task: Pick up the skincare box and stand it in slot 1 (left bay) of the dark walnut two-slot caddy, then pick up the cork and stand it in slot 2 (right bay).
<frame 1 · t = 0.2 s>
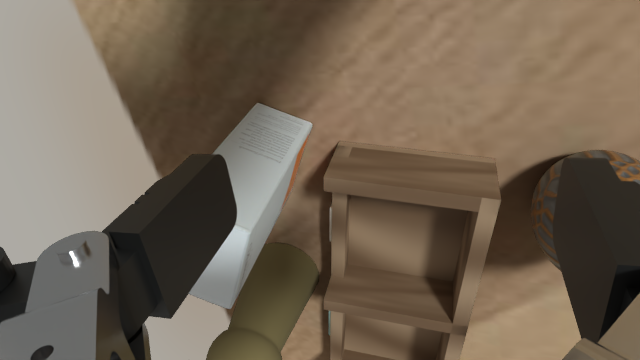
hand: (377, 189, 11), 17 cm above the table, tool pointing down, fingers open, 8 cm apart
skincare box: (277, 145, 32), on the table
vase: (584, 180, 28), on the table
slot rack: (399, 272, 36), on the table
cork: (285, 268, 39), on the table
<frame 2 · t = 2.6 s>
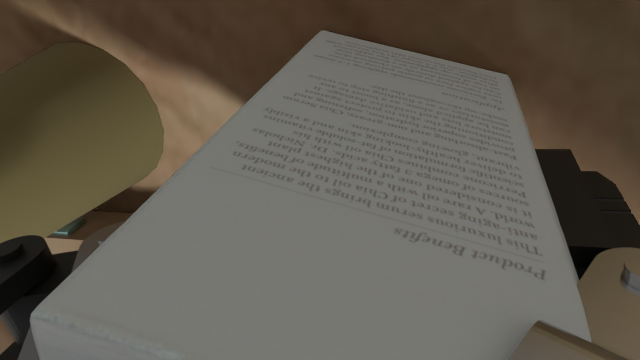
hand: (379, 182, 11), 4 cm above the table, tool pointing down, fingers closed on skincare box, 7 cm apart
skincare box: (399, 110, 15), on the table, touching gripper
slot rack: (197, 300, 22), on the table
cork: (98, 116, 18), on the table
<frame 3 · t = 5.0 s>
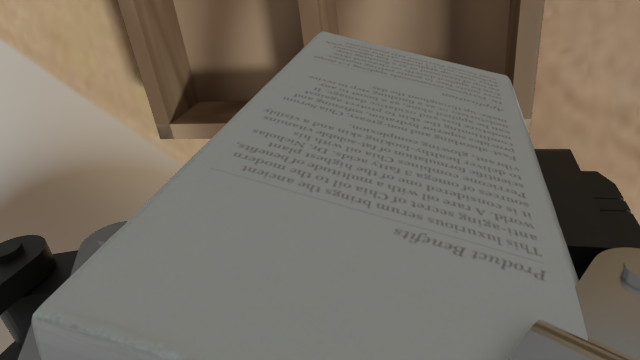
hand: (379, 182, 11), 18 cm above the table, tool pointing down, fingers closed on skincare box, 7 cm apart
skincare box: (398, 111, 15), point 14 cm above the table, touching gripper
slot rack: (332, 32, 28), on the table
when the fingers open (6 cm above the table, at t = 7.6 s): skincare box drops 2 cm, resting on slot rack.
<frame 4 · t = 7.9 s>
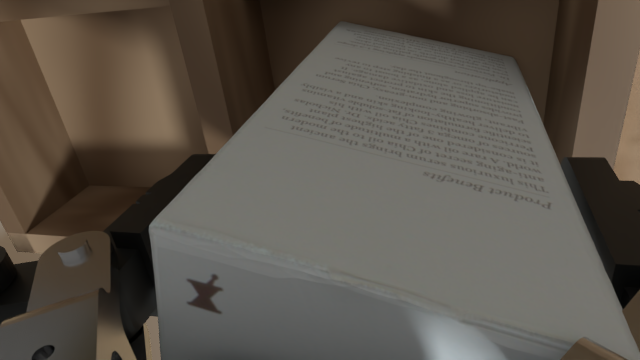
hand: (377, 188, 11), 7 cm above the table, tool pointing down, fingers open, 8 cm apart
skincare box: (413, 94, 16), resting on slot rack
slot rack: (270, 97, 18), on the table
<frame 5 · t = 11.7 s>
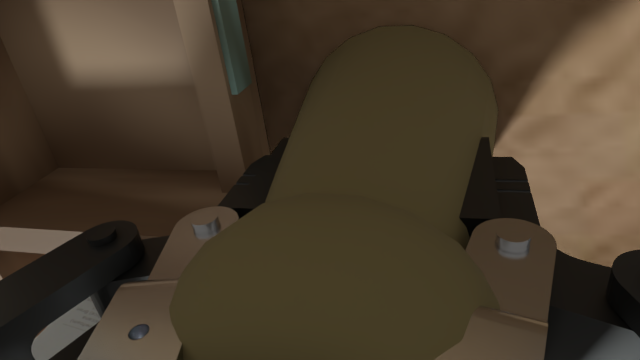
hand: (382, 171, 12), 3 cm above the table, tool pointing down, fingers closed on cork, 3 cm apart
skincare box: (189, 288, 20), resting on slot rack
slot rack: (156, 173, 18), on the table
cork: (397, 120, 15), on the table, touching gripper
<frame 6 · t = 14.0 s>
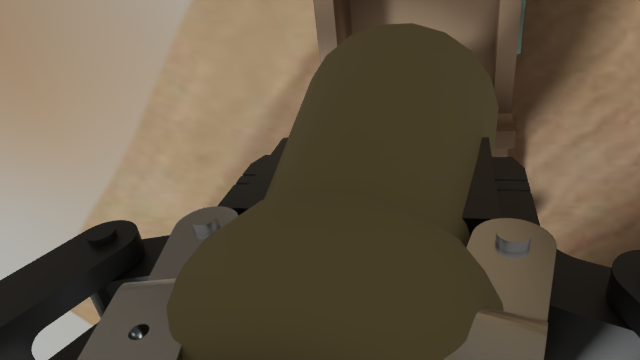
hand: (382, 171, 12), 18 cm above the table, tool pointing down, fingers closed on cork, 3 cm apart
slot rack: (422, 109, 29), on the table
cork: (397, 118, 15), point 14 cm above the table, touching gripper
when the fingers open (5 cm above the table, at t = 16.5 s): cork drops 2 cm, resting on slot rack.
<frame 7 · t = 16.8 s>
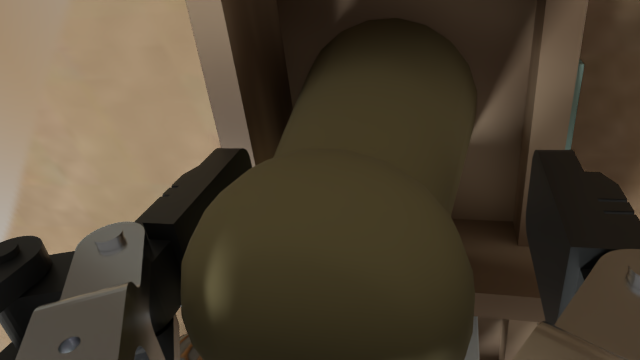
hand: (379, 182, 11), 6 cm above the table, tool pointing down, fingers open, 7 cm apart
skincare box: (411, 323, 21), resting on slot rack
vase: (229, 349, 27), on the table
slot rack: (406, 218, 19), on the table
cork: (387, 105, 16), resting on slot rack
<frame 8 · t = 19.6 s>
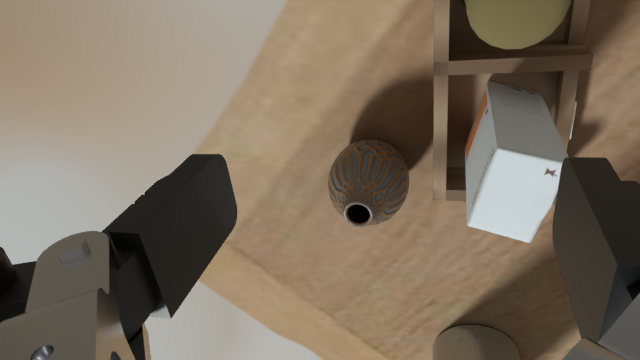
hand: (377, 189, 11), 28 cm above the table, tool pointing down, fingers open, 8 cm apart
skincare box: (499, 119, 37), resting on slot rack
vase: (374, 161, 43), on the table
slot rack: (503, 48, 35), on the table
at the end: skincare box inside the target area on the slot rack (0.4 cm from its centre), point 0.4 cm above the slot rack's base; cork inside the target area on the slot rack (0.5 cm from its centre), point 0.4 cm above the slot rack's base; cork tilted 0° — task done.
